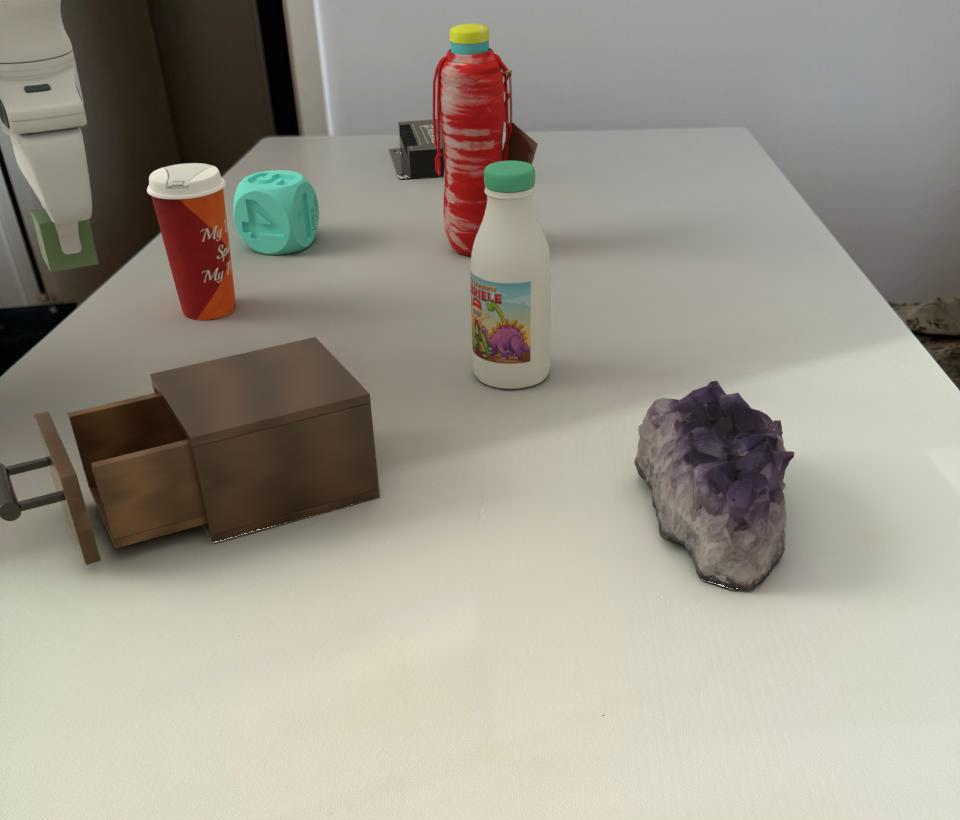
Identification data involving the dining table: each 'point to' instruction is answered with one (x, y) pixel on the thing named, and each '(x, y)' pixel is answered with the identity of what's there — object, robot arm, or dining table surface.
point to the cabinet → (273, 435)
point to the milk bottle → (510, 283)
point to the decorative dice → (276, 212)
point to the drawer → (116, 474)
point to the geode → (717, 483)
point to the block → (52, 248)
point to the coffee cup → (195, 237)
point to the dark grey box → (417, 150)
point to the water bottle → (472, 129)
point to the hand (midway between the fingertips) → (65, 242)
